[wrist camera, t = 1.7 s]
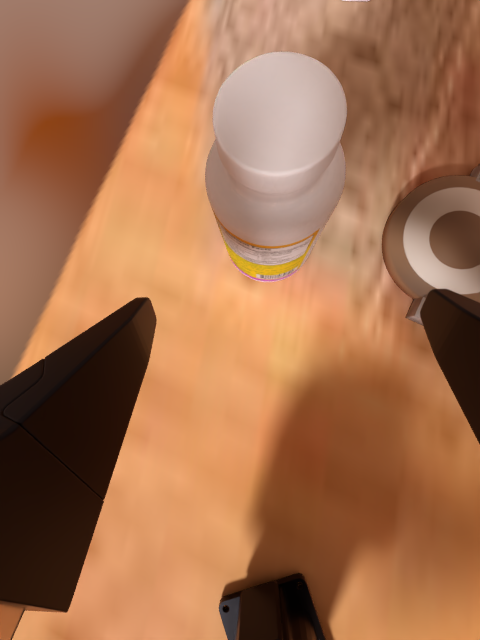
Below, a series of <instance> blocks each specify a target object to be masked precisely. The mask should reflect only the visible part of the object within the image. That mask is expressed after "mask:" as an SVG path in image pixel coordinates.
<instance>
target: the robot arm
mask: <svg viewBox="0 0 480 640" xmlns="http://www.w3.org/2000/svg"><path fill="white" fill-rule="evenodd" d="M420 317H421V320H422V323H423V326H424V329H425V331H426V334H427V337H428V339H429V342H430V345H431V348H432V350H433V353H434V355H435V358H436V360H437V362H438V364H439V366H440V368H441V370H442V372H443V374H444V376H445V377H446V379H447V381H448V383H449V385H450V387H451V389H452V391H453V393H454V395H455V397H456V399H457V401H458V403H459V405H460V407H461V409H462V411H463V413H464V415H465V416H466V418H467V420H468V422H469V424H470V426H471V428H472V430H473V432H474V434H475V436H476V438H477V440H478V442H479V444H480V302H477V301H475V300H472V299H470V298H468V297H465V296H463V295H461V294H458V293H456V292H453V291H451V290H449V289H432V290H430V291H429V293H428V295H427V297H426V299H425V301H424V303H423V306H422V308H421V310H420ZM155 327H156V315H155V312H154V309H153V306H152V303H151V300H150V299H149V298H148V297H142V298H135V299H134V300H132V301H130V302H129V303H127V304H126V305H124V306H123V307H121V308H120V309H118V310H117V311H115V312H114V313H112V314H111V315H109V316H108V317H106V318H104V319H103V320H101V321H100V322H98V323H97V324H95V325H94V326H92V327H91V328H89V329H88V330H86V331H85V332H83V333H81V334H80V335H78V336H77V337H75V338H74V339H72V340H71V341H69V342H68V343H66V344H65V345H63V346H62V347H60V348H59V349H57V350H55V351H54V352H52V353H51V354H49V355H48V356H46V357H45V359H42V360H40V361H39V362H37V363H36V364H34V365H32V366H31V367H29V368H28V369H26V370H25V371H23V372H21V373H20V374H18V375H17V376H15V377H14V378H12V379H10V380H9V381H7V382H5V383H4V384H2V385H0V640H12V638H13V636H14V633H15V631H16V629H17V627H18V624H19V622H20V620H21V617H22V615H23V613H24V611H25V610H26V611H47V612H67V611H68V609H69V607H70V604H71V601H72V598H73V595H74V592H75V589H76V586H77V583H78V580H79V577H80V574H81V571H82V567H83V564H84V561H85V558H86V555H87V552H88V549H89V546H90V543H91V540H92V537H93V533H94V530H95V527H96V524H97V521H98V518H99V515H100V512H101V509H102V506H103V503H104V501H103V500H104V499H105V496H106V493H107V490H108V486H109V483H110V480H111V477H112V474H113V471H114V468H115V465H116V462H117V459H118V456H119V452H120V449H121V446H122V443H123V440H124V437H125V434H126V431H127V428H128V425H129V421H130V418H131V415H132V412H133V409H134V406H135V403H136V400H137V397H138V394H139V391H140V387H141V384H142V381H143V378H144V375H145V372H146V369H147V366H148V362H149V358H150V354H151V348H152V343H153V338H154V333H155ZM298 582H301V583H302V584H301V585H298V584H297V583H298ZM224 605H227V606H229V607H224ZM219 612H220V615H221V618H222V622H223V625H224V628H225V632H226V635H227V638H228V640H326V638H325V635H324V632H323V630H322V627H321V624H320V621H319V618H318V615H317V612H316V609H315V606H314V603H313V600H312V597H311V594H310V591H309V588H308V585H307V582H306V579H305V577H304V576H303V575H302V574H294V575H291V576H288V577H285V578H282V579H278V580H275V581H271V582H268V583H265V584H262V585H258V586H255V587H252V588H249V589H246V590H243V591H240V592H237V593H234V594H230V595H227V596H224V597H222V598H221V600H220V604H219Z"/></svg>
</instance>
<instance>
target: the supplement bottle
mask: <svg viewBox="0 0 480 640" xmlns="http://www.w3.org/2000/svg"><path fill="white" fill-rule="evenodd" d="M346 118H347V103H346V98H345V93H344V91H343V88H342V85H341V83H340V82H339V80H338V79H337V77H336V76H335V75H334V73H333V72H332V71H331V70H330V69H329V68H328V67H327V66H325V65H324V64H323V63H321V62H320V61H318V60H316V59H314V58H312V57H310V56H307V55H304V54H300V53H295V52H288V51H281V52H271V53H266V54H262V55H259V56H257V57H254V58H252V59H250V60H248V61H246V62H245V63H243V64H242V65H240V66H239V67H238V68H237V69H235V70H234V71H233V72H232V73H231V74H230V75H229V76H228V78H227V79H226V80H225V82H224V83H223V84H222V86H221V88H220V90H219V92H218V94H217V97H216V100H215V104H214V109H213V127H214V133H215V138H216V139H215V141H214V143H213V145H212V147H211V150H210V152H209V155H208V159H207V163H206V172H205V182H206V190H207V195H208V198H209V201H210V204H211V207H212V210H213V212H214V215H215V218H216V220H217V223H218V226H219V229H220V231H221V234H222V237H223V240H224V243H225V245H226V248H227V251H228V254H229V256H230V258H231V260H232V262H233V264H234V265H235V267H236V268H237V269H238V270H239V271H240V272H241V273H242V274H244V275H245V276H247V277H249V278H251V279H253V280H256V281H261V282H276V281H280V280H283V279H286V278H288V277H290V276H291V275H293V274H294V273H296V272H297V271H298V270H299V269H300V268H301V267H302V266H303V264H304V263H305V261H306V260H307V258H308V256H309V254H310V252H311V251H312V249H313V247H314V245H315V243H316V241H317V240H318V238H319V236H320V234H321V232H322V230H323V229H324V227H325V225H326V223H327V221H328V220H329V218H330V216H331V214H332V213H333V211H334V209H335V207H336V206H337V204H338V202H339V199H340V197H341V194H342V191H343V188H344V183H345V175H346V164H345V157H344V152H343V148H342V146H341V143H340V140H341V137H342V134H343V131H344V128H345V124H346Z"/></svg>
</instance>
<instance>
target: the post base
mask: <svg viewBox="0 0 480 640" xmlns="http://www.w3.org/2000/svg"><path fill="white" fill-rule="evenodd" d="M382 253H383V259H384V262H385V265H386V268H387V270H388V272H389V274H390V276H391V277H392V279H393V280H394V282H395V283H396V284H397V285H398V287H399V288H400V289H401V290H402V291H403V292H405V293H406V294H407V295H408V296H410V297H411V298H413V299H414V300H413V303H412V305H411V307H410V309H409V311H408V314H407V316H406V318H408V319H410V320H412V321H414V322H417V323H419V324H421V325H423V323H422V320H421V317H420V310H421V308H422V306H423V303H424V301H425V299H426V297H427V295H428V293H429V291H430V290H432V289H449V290H451V291H453V292H456V293H458V294H461V295H463V296H465V297H468V298H470V299H472V300H475V301H477V302H480V164H479V165H478V166H477V167H475V168H474V169H473V170H472V173H471V175H470V176H463V175H454V176H445V177H440V178H437V179H433V180H431V181H428V182H426V183H424V184H422V185H420V186H419V187H417V188H416V189H414V190H413V191H412V192H411V193H409V194H408V195H407V196H406V197H405V198H404V199H403V200H402V201H401V202H400V203H399V204H398V205H397V206H396V208H395V209H394V210H393V212H392V213H391V215H390V216H389V218H388V220H387V222H386V225H385V228H384V232H383V236H382Z"/></svg>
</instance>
